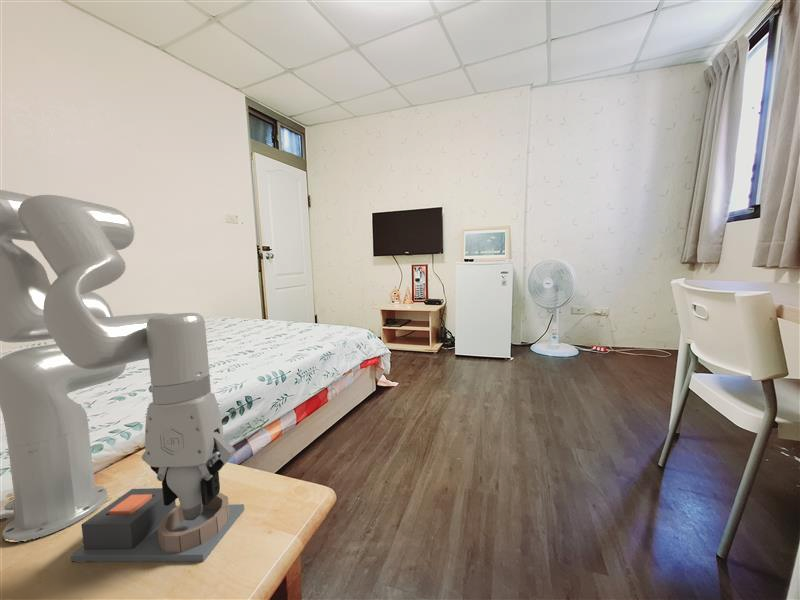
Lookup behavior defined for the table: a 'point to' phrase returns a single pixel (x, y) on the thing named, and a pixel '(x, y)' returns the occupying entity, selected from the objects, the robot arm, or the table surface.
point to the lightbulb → (187, 489)
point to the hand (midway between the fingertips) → (192, 498)
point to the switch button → (130, 504)
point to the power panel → (155, 531)
